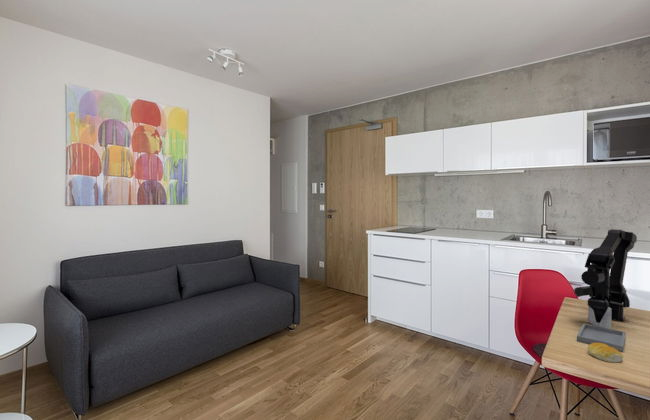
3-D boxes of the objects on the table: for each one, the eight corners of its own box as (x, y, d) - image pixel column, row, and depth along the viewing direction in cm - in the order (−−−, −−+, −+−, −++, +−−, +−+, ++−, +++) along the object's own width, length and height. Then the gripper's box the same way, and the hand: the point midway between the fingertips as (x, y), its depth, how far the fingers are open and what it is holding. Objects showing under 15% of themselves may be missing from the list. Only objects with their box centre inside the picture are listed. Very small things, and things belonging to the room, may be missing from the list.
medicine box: (611, 329, 131) (612, 308, 131) (598, 329, 132) (599, 307, 132) (599, 322, 139) (600, 302, 139) (587, 322, 140) (588, 301, 140)
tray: (583, 328, 133) (583, 323, 133) (625, 337, 124) (625, 332, 124) (576, 341, 120) (576, 335, 120) (623, 352, 112) (623, 346, 112)
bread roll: (603, 350, 113) (604, 339, 113) (628, 363, 104) (628, 350, 104) (580, 350, 113) (580, 339, 113) (602, 363, 104) (603, 350, 104)
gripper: (578, 275, 148) (578, 309, 148) (572, 282, 134) (571, 320, 135) (611, 279, 140) (610, 315, 140) (608, 287, 127) (607, 327, 127)
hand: (599, 319), depth 136 cm, fingers open, 9 cm apart
